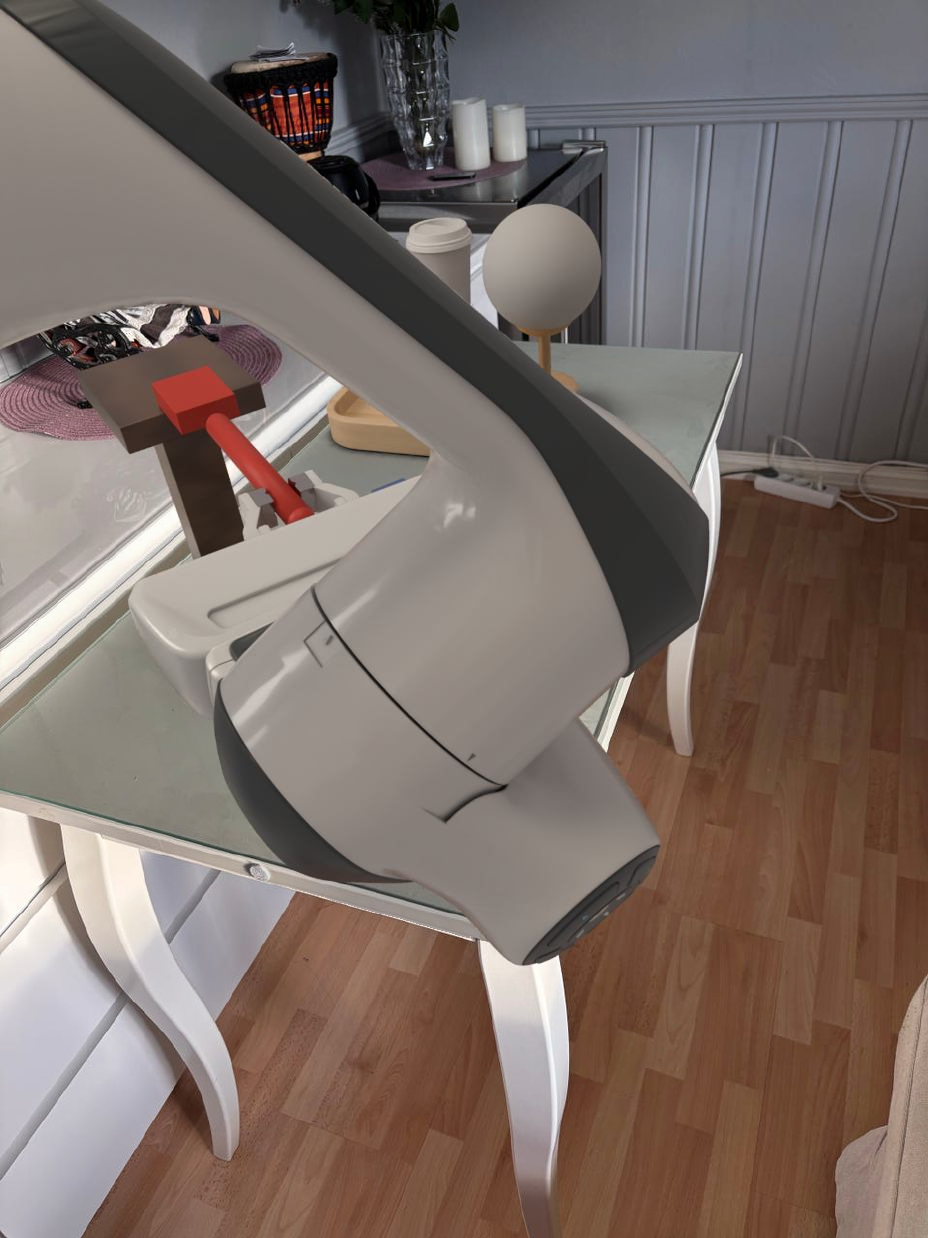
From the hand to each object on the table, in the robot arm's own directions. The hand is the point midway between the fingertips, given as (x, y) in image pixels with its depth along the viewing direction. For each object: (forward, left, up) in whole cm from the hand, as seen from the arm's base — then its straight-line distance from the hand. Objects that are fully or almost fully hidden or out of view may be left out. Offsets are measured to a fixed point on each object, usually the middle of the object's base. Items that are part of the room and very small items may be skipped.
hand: (275, 491), depth 52 cm
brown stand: (0, +20, -26) cm, 33 cm away
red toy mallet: (0, +6, 0) cm, 6 cm away
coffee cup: (+52, +70, -26) cm, 91 cm away
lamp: (+38, +43, -26) cm, 63 cm away
